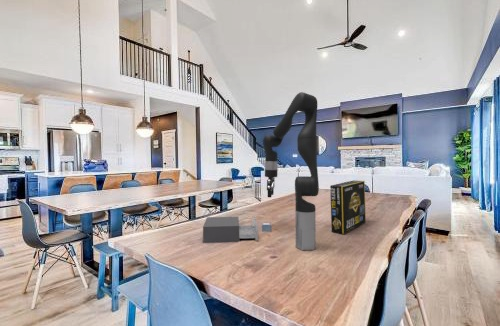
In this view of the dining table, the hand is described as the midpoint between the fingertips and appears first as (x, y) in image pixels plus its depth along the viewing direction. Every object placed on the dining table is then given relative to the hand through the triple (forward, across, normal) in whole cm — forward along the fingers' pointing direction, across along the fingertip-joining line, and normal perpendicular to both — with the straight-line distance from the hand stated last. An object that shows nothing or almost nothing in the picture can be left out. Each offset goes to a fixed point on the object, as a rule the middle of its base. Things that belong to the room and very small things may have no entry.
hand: (270, 196), depth 153 cm
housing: (+20, -21, +23) cm, 37 cm away
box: (+18, +10, -46) cm, 51 cm away
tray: (+19, -18, +14) cm, 30 cm away
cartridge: (+19, -6, +1) cm, 20 cm away
